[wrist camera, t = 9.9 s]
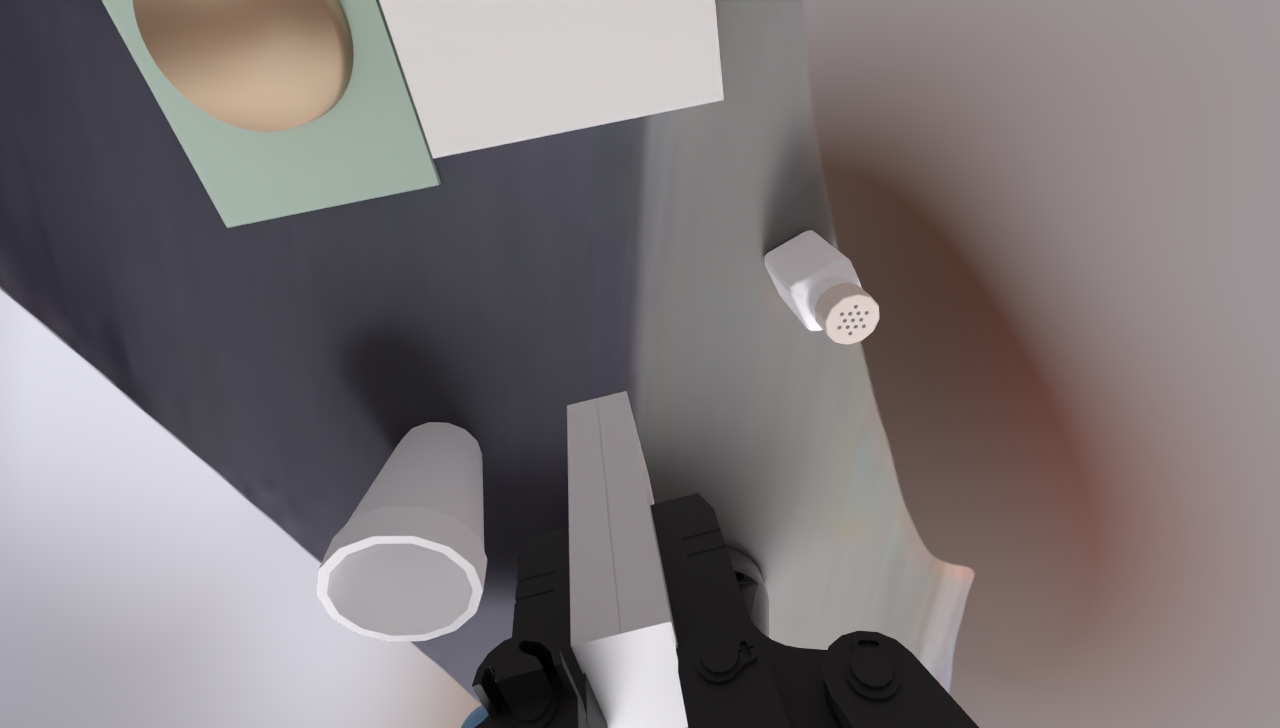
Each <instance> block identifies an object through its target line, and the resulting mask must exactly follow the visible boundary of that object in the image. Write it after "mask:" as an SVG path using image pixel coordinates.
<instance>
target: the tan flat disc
mask: <svg viewBox="0 0 1280 728" xmlns="http://www.w3.org/2000/svg"><path fill="white" fill-rule="evenodd" d="M133 9H134V13H135V18H136V23H137V25H138V28H139V31H140V34H141V37H142V39H143V41H144V43H145V46H146V48H147V50H148V52H149V53H150V55H151V57H152V58H153V60H154V62H155V63H156V65H157V66H158V68H159V69H160V70H161V72H162V73H163V75H164V76H165V77H166V78H167V79H168V80H169V82H170V83H171V84H172V85H173V86H174V87H175V88H176V89H177V90H178V91H179V92H180V93H181V94H182V95H183V96H184V97H185V98H186V99H188V100H189V101H190V102H191V103H193V104H194V105H195V106H197V107H198V108H199V109H201V110H203V111H204V112H206V113H207V114H209V115H210V116H212V117H214V118H216V119H218V120H220V121H222V122H225V123H227V124H230V125H232V126H235V127H239V128H242V129H246V130H252V131H258V132H276V131H284V130H287V129H291V128H295V127H297V126H300V125H303V124H305V123H308V122H311V121H313V120H315V119H317V118H320V117H321V116H323V115H325V114H326V113H328V112H329V111H330V110H331V109H332V108H333V107H334V106H336V104H337V103H338V102H339V101H340V99H341V98H342V96H343V95H344V93H345V91H346V89H347V87H348V84H349V81H350V79H351V74H352V69H353V58H354V53H353V41H352V36H351V30H350V27H349V24H348V20H347V17H346V15H345V12H344V10H343V8H342V5H341V3H340V2H339V0H133Z"/></svg>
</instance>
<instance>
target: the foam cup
mask: <svg viewBox="0 0 1280 728" xmlns="http://www.w3.org/2000/svg"><path fill="white" fill-rule="evenodd" d="M486 567H487V557H486V554H485V552H484V517H483V465H482V453H481V450H480V447H479V444H478V441H477V440H476V439H475V438H474V437H473V436H472V435H471V434H470V433H469V432H468V431H466V430H465V429H463V428H460V427H458V426H455V425H453V424H450V423H441V422H428V423H425V424H423V425H420V426H417V427H414V428H412V429H411V430H410V431H409V432H408V433H407V434H406V435H405V436H404V437H403V438H402V439H401V441H400V443H399V444H398V445H397V447H396V448H395V450H394V451H393V453H392V454H391V456H390V457H389V459H388V460H387V462H386V463H385V465H384V466H383V468H382V470H381V471H380V473H379V474H378V476H377V477H376V479H375V480H374V482H373V483H372V485H371V486H370V488H369V490H368V491H367V493H366V494H365V496H364V497H363V499H362V500H361V502H360V503H359V505H358V506H357V508H356V510H355V511H354V513H353V514H352V516H351V517H350V519H349V520H348V522H347V523H346V525H345V526H344V527H343V528H342V529H341V530H340V531H339V532H338V533H337V534H336V535H335V537H334V538H333V539H332V541H331V543H330V546H329V548H328V550H327V552H326V554H325V557H324V559H323V561H322V563H321V565H320V568H319V571H318V580H317V588H316V595H317V597H318V598H319V600H320V602H321V603H322V605H323V607H324V608H325V610H326V611H327V613H328V614H329V616H330V617H331V618H333V619H334V620H336V621H337V622H339V623H340V624H342V625H344V626H345V627H347V628H348V629H350V630H352V631H353V632H355V633H356V634H360V635H364V636H368V637H373V638H377V639H381V640H385V641H389V642H402V641H426V640H429V639H432V638H435V637H438V636H441V635H444V634H447V633H450V632H453V631H456V630H457V629H458V628H459V627H460V626H461V625H463V624H464V623H465V622H466V621H467V620H468V619H470V618H471V617H472V616H473V615H474V614H475V613H476V612H477V609H478V606H479V602H480V599H481V596H482V593H483V588H484V581H485V574H486Z"/></svg>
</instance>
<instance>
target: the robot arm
mask: <svg viewBox="0 0 1280 728" xmlns="http://www.w3.org/2000/svg"><path fill="white" fill-rule="evenodd" d="M567 437H568V500H569V527H566V528H562V529H558V530H554V531H550V532H546V533H542V534H538V535H533V536H530V538H529V540H528V542H527V543H526V545H525V547H524V549H523V551H522V553H521V555H520V557H519V561H518V573H517V583H518V585H516V597H515V600H516V604H515V609H514V621H513V632H512V638H510V639H508V640H505V641H503V642H502V643H501V644H499V645H498V646H497V647H496V648H495V649H493V650H492V651H491V652H490V653H489V654H488V655H487V656H486V658H485V659H484V661H483V662H482V663H481V665H480V666H479V668H478V669H477V672H476V675H475V678H474V682H473V685H472V687H473V689H474V691H475V692H476V694H477V696H478V697H479V699H480V701H481V702H482V704H483V705H482V706H480V707H478V708H477V709H475V710H474V711H473V712H472V713H471V714H470V715H469V716H468V717H467V719H466V720H465V722H464V723H463V725H462V727H461V728H979V727H978V726H977V725H976V724H975V723H974V721H972V719H971V718H970V717H969V716H968V715H967V714H966V713H965V711H964V710H963V709H962V708H961V707H960V706H959V705H958V704H957V703H956V701H955V700H954V699H953V698H952V697H951V696H950V695H949V694H948V693H947V691H946V690H945V689H944V688H943V687H942V686H941V685H940V684H939V683H938V681H937V680H936V679H935V678H934V677H933V676H932V675H931V674H930V673H929V671H928V670H927V669H926V668H925V667H924V666H923V665H922V664H921V663H920V661H919V660H918V659H917V658H916V657H915V656H914V655H913V654H912V653H911V652H910V651H909V650H908V649H907V648H905V647H904V646H903V645H902V644H900V643H899V642H898V641H897V640H895V639H893V638H890V637H888V636H885V635H883V634H880V633H878V632H868V631H856V632H852V633H849V634H845V635H842V636H841V637H839V638H838V639H837V640H836V641H835V642H833V643H832V644H831V645H830V646H829V648H828V650H819V649H806V648H796V647H791V646H786V645H783V644H780V643H778V642H776V641H773V640H771V639H770V638H769V600H768V594H767V590H766V587H765V584H764V582H763V579H762V576H761V573H760V571H759V569H758V567H757V566H756V564H755V563H754V562H753V561H752V560H751V559H750V558H749V557H747V556H746V555H744V554H743V553H741V552H739V551H737V550H735V549H732V548H730V547H726V545H725V542H724V539H723V536H722V533H721V531H720V527H719V524H718V521H717V518H716V515H715V512H714V509H713V508H712V507H711V506H710V505H709V504H708V503H707V502H706V501H705V500H704V499H703V498H702V497H701V496H700V495H699V494H693V495H689V496H685V497H681V498H677V499H673V500H669V501H665V502H661V503H657V504H655V503H654V499H653V494H652V489H651V484H650V479H649V475H648V471H647V467H646V463H645V459H644V456H643V452H642V448H641V444H640V440H639V437H638V433H637V429H636V425H635V421H634V418H633V414H632V410H631V406H630V402H629V399H628V395H627V391H624V392H620V393H616V394H612V395H608V396H604V397H600V398H596V399H592V400H588V401H583V402H579V403H575V404H571V405H567Z"/></svg>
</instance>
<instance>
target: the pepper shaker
mask: <svg viewBox="0 0 1280 728" xmlns="http://www.w3.org/2000/svg"><path fill="white" fill-rule="evenodd" d="M764 264H765V266H766V268H767V270H768V272H769V274H770V276H771V278H772V280H773V282H774V284H775V287H776V289H777V291H778V293H779V295H780V296H781V297H782V299H783V300H784V301H785V302H786V304H787V305H788V306H789V307H790V308H791V310H792V311H793V312H794V313H795V314H796V316H797V317H798V318H799V319H800V321H801V322H802V323H803V324H804V325H805V327H806V328H807V329H809V330H811V331H820V330H824V331H825V332H826V334H827V335H828V336H829V337H830V338H831V339H832V340H833V341H834V342H836V343H841V344H846V345H849V344H852V343H855V342H859V341H862V340H863V339H864V338H865V337H867V336H868V335H869V334H870V333H872V332H873V330H874V328H875V326H876V324H877V322H878V320H879V306H878V304H877V303H876V302H875V301H874V300H873V299H872V297H871V296H870V295H869V294H867V293H866V292H865V291H864V290H863V289H862V287H861V284H860V282H859V279H858V277H857V274H856V272H855V270H854V268H853V266H852V264H851V262H850V260H849V259H848V258H847V257H845V256H844V255H843V254H842V253H840V252H839V251H838V250H837V249H835V248H834V247H833V246H832V245H830V244H829V243H828V242H827V241H825V240H824V239H823V238H822V237H820V236H819V235H818V234H817V233H815V232H814V231H813V230H809V231H805V232H803V233H801V234H799V235H798V236H796V237H794V238H793V239H791V240H789V241H787V242H786V243H784V244H782V245H780V246H779V247H777V248H775V249H773V250H772V251H770V252H768V253H767V254H766V255H765V256H764Z"/></svg>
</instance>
